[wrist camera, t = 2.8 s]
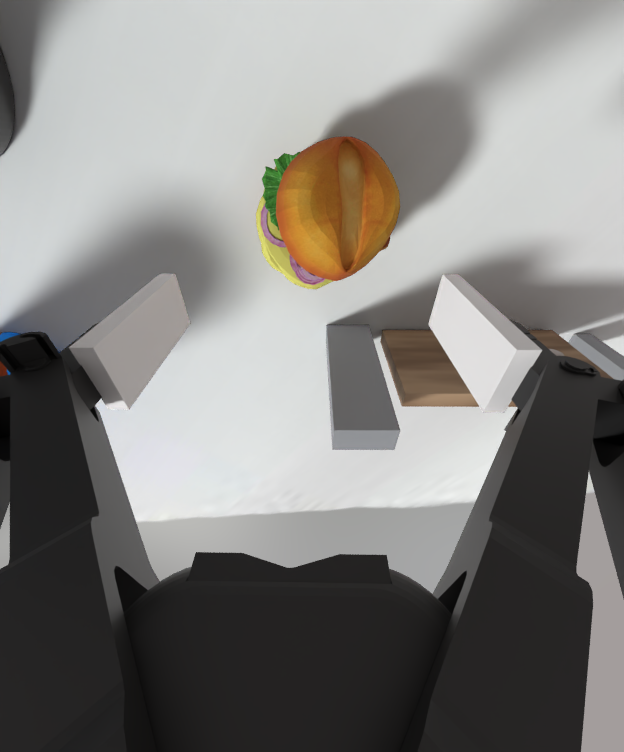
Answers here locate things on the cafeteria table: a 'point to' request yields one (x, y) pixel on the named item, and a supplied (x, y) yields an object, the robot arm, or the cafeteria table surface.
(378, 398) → the door frame
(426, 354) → the door
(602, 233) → the cafeteria table surface
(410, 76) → the cafeteria table surface
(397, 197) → the cheeseburger
